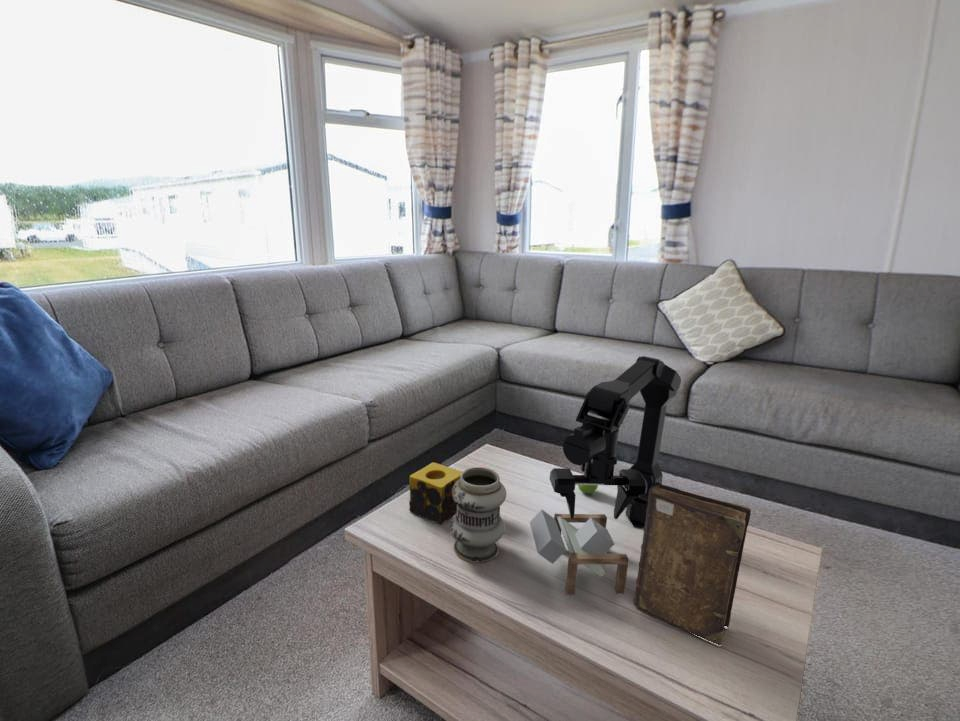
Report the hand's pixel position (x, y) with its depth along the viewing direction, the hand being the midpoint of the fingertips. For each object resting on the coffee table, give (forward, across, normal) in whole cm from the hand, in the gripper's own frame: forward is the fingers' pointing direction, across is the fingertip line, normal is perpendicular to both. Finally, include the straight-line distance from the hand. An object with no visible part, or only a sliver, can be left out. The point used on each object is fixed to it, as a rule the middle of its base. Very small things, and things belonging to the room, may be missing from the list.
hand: (593, 518), depth 108 cm
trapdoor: (+9, +7, 0) cm, 11 cm away
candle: (+12, +32, -22) cm, 41 cm away
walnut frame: (+12, 0, 0) cm, 12 cm away
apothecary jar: (+12, +24, -6) cm, 27 cm away
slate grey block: (+7, +1, 0) cm, 7 cm away
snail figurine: (+12, -8, -32) cm, 36 cm away
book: (+12, -14, +14) cm, 23 cm away
